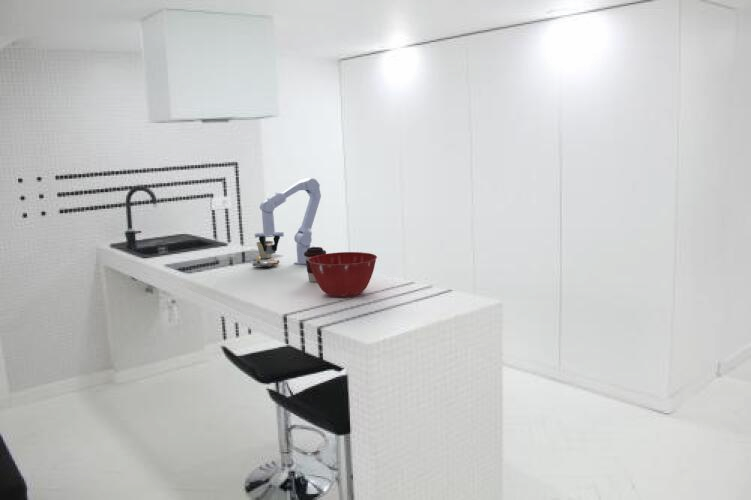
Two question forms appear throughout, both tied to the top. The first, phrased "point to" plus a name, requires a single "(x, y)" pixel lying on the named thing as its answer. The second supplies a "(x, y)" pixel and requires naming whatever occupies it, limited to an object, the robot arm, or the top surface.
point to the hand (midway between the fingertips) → (270, 250)
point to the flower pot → (261, 250)
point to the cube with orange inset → (270, 249)
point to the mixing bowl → (343, 272)
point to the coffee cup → (310, 253)
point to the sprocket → (265, 262)
